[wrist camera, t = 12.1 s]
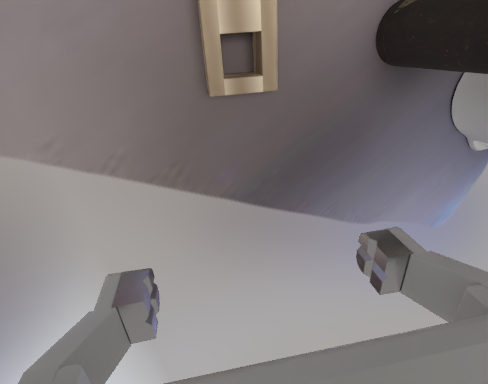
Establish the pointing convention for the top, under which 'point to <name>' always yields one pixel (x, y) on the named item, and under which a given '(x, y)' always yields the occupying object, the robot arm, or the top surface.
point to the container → (436, 35)
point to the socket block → (239, 21)
